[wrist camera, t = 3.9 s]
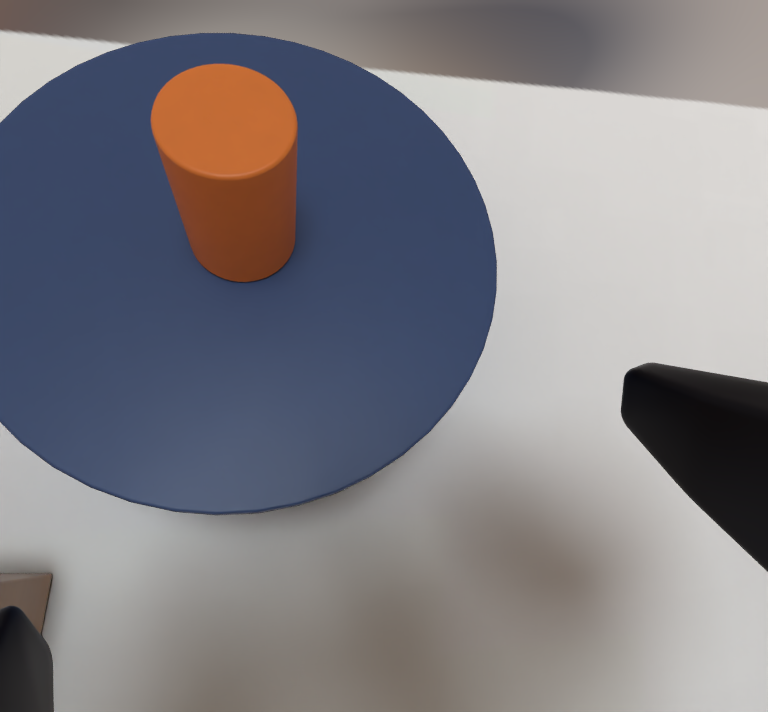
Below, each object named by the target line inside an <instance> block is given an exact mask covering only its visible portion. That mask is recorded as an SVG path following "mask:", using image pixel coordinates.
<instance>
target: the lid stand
mask: <svg viewBox="0 0 768 712" xmlns="http://www.w3.org/2000/svg"><path fill="white" fill-rule="evenodd" d="M51 578H52V575H51V574H49V573H11V574H0V609H1V608H4V607H7V606H17V607H19V608H20V609H21V610H22V611H23V612H24V613H25V614H26V616H27V617H28V618H29V620H30V621H31V622H32V624H33V625H34V626H35V628H36V629H37V630H38V632H39V633H40V634H41V631H42V625H43V620H44V615H45V610H46V604H47V599H48V594H49V588H50V583H51Z"/></svg>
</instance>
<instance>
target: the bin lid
mask: <svg viewBox="0 0 768 712" xmlns="http://www.w3.org/2000/svg"><path fill="white" fill-rule="evenodd" d="M496 282H497V260H496V253H495V246H494V238H493V232H492V228H491V224H490V221H489V217H488V214H487V210H486V206H485V203H484V201H483V199H482V196H481V194H480V192H479V189H478V187H477V185H476V182H475V180H474V178H473V176H472V174H471V173H470V171H469V169H468V167H467V166H466V164H465V162H464V161H463V159H462V157H461V155H460V154H459V153H458V151H457V150H456V149H455V147H454V146H453V145H452V143H451V142H450V141H449V139H448V138H447V137H446V135H445V134H444V133H443V131H442V130H441V129H440V128H439V127H438V126H437V125H436V124H435V123H434V122H433V121H432V120H431V119H430V118H429V117H428V116H427V115H426V114H425V112H424V111H422V110H421V109H420V108H419V107H418V106H417V105H415V104H414V103H413V102H412V101H411V100H409V99H408V98H407V97H406V96H405V95H403V94H402V93H401V92H400V91H398V90H397V89H395V88H394V87H392V86H391V85H389V84H388V83H386V82H385V81H383V80H382V79H380V78H379V77H377V76H376V75H374V74H372V73H370V72H368V71H366V70H364V69H362V68H361V67H359V66H357V65H355V64H353V63H351V62H349V61H346V60H344V59H342V58H339V57H337V56H334V55H332V54H329V53H327V52H324V51H322V50H318V49H315V48H312V47H308V46H305V45H302V44H298V43H295V42H290V41H285V40H280V39H275V38H270V37H265V36H256V35H246V34H236V33H199V34H188V35H179V36H169V37H164V38H160V39H154V40H149V41H144V42H139V43H135V44H132V45H129V46H126V47H123V48H119V49H116V50H113V51H110V52H107V53H104V54H102V55H100V56H98V57H95V58H93V59H91V60H88V61H86V62H84V63H81V64H79V65H77V66H75V67H73V68H72V69H70V70H68V71H67V72H65V73H63V74H61V75H60V76H58V77H56V78H54V79H53V80H51V81H49V82H48V83H46V84H45V85H44V86H42V87H41V88H40V89H38V90H37V91H36V92H34V93H33V94H32V95H30V96H29V97H28V98H26V99H25V100H24V101H22V102H21V103H20V104H19V105H18V106H17V107H16V108H15V109H14V110H13V111H12V112H11V113H10V114H9V115H8V116H7V117H6V118H5V119H4V120H3V121H2V122H1V123H0V422H1V423H2V424H3V425H4V426H5V427H6V428H7V429H8V430H9V431H10V432H11V433H12V434H13V435H14V436H15V438H16V439H17V440H18V441H19V442H20V443H22V444H23V445H24V446H26V447H27V448H28V449H30V450H31V451H32V452H34V453H35V454H36V455H38V456H39V457H40V458H42V459H43V460H44V461H46V462H47V463H48V464H50V465H51V466H52V467H54V468H56V469H57V470H59V471H61V472H63V473H65V474H67V475H69V476H70V477H72V478H74V479H76V480H78V481H80V482H82V483H83V484H85V485H87V486H89V487H91V488H94V489H96V490H99V491H102V492H105V493H107V494H110V495H113V496H115V497H118V498H121V499H124V500H126V501H129V502H133V503H137V504H142V505H146V506H151V507H156V508H160V509H165V510H169V511H174V512H182V513H195V514H207V515H233V514H253V513H262V512H268V511H273V510H278V509H284V508H289V507H295V506H299V505H302V504H305V503H308V502H311V501H314V500H318V499H321V498H324V497H327V496H330V495H333V494H336V493H338V492H340V491H342V490H344V489H346V488H348V487H350V486H352V485H354V484H357V483H359V482H361V481H363V480H365V479H367V478H369V477H371V476H372V475H374V474H375V473H377V472H378V471H380V470H381V469H383V468H384V467H386V466H387V465H389V464H390V463H392V462H393V461H395V460H396V459H398V458H400V457H401V456H402V455H404V454H405V453H406V452H407V451H408V450H409V449H410V448H412V447H413V446H414V445H415V444H416V443H417V442H418V441H420V440H421V439H422V438H423V437H424V436H425V435H427V434H428V433H429V432H430V431H431V430H432V429H433V427H434V426H435V425H436V424H437V423H438V422H439V420H440V419H441V418H442V417H443V416H444V415H445V414H446V412H447V411H448V410H449V409H450V408H451V407H452V405H453V404H454V402H455V401H456V399H457V398H458V396H459V395H460V393H461V392H462V390H463V388H464V387H465V385H466V384H467V382H468V381H469V379H470V377H471V375H472V373H473V371H474V369H475V367H476V364H477V362H478V360H479V358H480V356H481V354H482V351H483V349H484V346H485V342H486V339H487V336H488V332H489V329H490V326H491V322H492V318H493V311H494V304H495V297H496Z"/></svg>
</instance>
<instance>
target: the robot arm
mask: <svg viewBox="0 0 768 712" xmlns="http://www.w3.org/2000/svg"><path fill="white" fill-rule="evenodd" d="M621 415H622V418H623V421H624V423H625V424H626V426H627V427H628V428H629V429H630V431H631V432H632V433H633V434H634V435H635V436H636V437H637V438H638V440H639V441H640V442H641V443H642V444H643V445H644V446H645V448H646V449H647V450H648V451H649V452H650V453H651V454H652V456H653V457H654V458H655V459H656V460H657V461H658V462H659V464H660V465H661V466H662V467H663V468H664V469H665V470H666V472H667V473H668V474H669V475H670V476H671V477H672V478H673V479H674V481H675V482H676V483H677V484H678V485H679V486H680V487H681V488H682V490H683V491H684V492H685V493H686V494H687V495H688V496H689V497H690V498H691V499H692V500H693V501H694V502H695V503H696V504H697V505H698V506H699V507H700V508H701V509H702V510H703V511H704V512H705V513H706V514H707V515H708V516H710V517H711V518H712V519H713V520H714V521H715V522H716V523H717V524H718V525H719V526H720V527H721V528H722V529H723V530H724V531H725V532H726V533H727V534H728V535H730V536H731V537H732V538H733V539H734V540H735V541H736V542H737V543H738V544H739V545H740V546H741V547H742V548H743V549H744V550H745V551H746V552H747V553H748V554H750V555H751V556H752V557H753V558H754V559H755V560H756V561H757V562H758V563H759V564H760V565H761V566H762V567H763V568H764V569H765V570H766V571H767V572H768V383H767V382H761V381H756V380H750V379H744V378H738V377H733V376H727V375H721V374H715V373H710V372H704V371H698V370H692V369H687V368H681V367H675V366H669V365H664V364H658V363H646V364H643V365H640V366H638V367H635V368H632V369H630V370H629V371H628V372H627V373H626V375H625V377H624V384H623V394H622V404H621ZM0 712H54V701H53V660H52V655H51V651H50V648H49V646H48V644H47V642H46V641H45V640H44V638H43V637H42V636H41V634H40V633H39V632H38V630H37V629H36V628H35V626H34V625H33V624H32V622H31V621H30V620H29V618H28V617H27V616H26V614H25V613H24V612H23V611H22V610H21V609H20V608H19V607H17V606H7V607H4V608H1V609H0Z"/></svg>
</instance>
